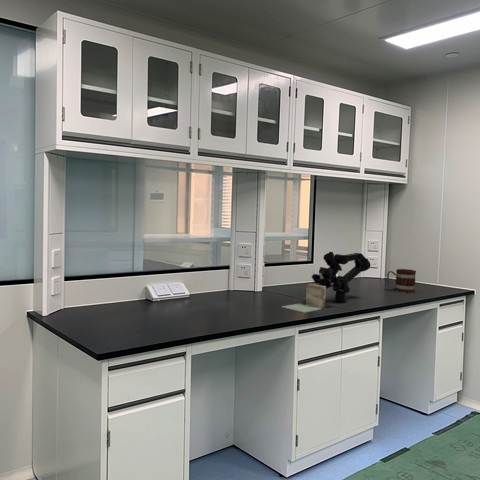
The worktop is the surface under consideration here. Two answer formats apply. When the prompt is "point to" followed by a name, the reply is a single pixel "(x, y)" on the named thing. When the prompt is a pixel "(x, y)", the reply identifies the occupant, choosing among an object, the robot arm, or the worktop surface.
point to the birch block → (315, 295)
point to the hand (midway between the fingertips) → (319, 291)
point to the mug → (403, 280)
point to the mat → (301, 308)
